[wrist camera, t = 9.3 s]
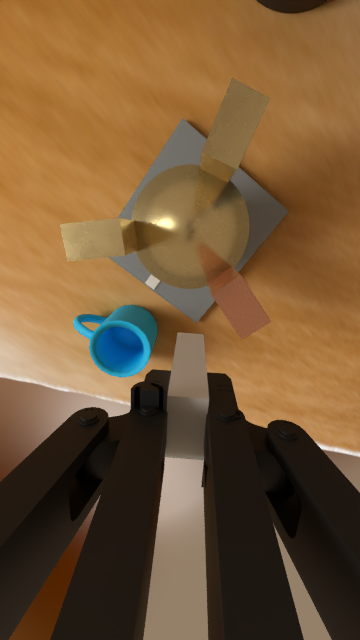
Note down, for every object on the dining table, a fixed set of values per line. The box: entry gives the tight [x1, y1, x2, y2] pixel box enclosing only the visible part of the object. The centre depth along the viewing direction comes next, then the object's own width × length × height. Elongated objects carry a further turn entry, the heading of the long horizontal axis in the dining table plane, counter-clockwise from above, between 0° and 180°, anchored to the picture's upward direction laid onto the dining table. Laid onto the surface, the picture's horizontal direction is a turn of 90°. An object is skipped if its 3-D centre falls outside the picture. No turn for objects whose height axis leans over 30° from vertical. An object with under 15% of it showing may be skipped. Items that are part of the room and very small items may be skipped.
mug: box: [73, 305, 158, 377], centre depth 41 cm, size 12×8×8 cm
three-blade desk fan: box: [60, 78, 271, 339], centre depth 28 cm, size 17×20×9 cm
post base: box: [109, 118, 289, 323], centre depth 36 cm, size 20×20×9 cm
